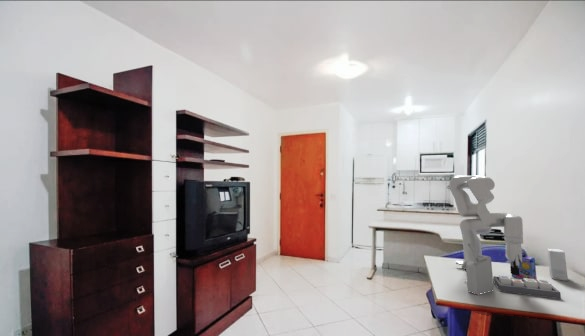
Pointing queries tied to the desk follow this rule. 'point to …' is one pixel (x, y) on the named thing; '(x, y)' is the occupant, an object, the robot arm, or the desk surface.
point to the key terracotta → (518, 282)
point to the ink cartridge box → (527, 268)
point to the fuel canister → (479, 273)
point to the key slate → (505, 280)
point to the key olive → (530, 283)
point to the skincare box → (557, 264)
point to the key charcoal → (544, 284)
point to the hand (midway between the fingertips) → (515, 274)
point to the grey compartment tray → (527, 289)
